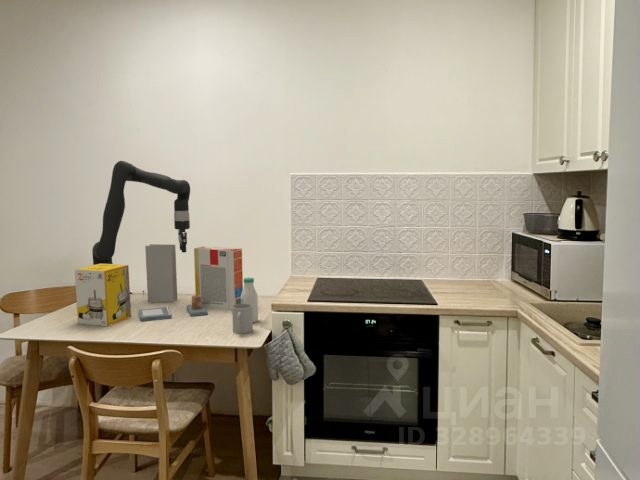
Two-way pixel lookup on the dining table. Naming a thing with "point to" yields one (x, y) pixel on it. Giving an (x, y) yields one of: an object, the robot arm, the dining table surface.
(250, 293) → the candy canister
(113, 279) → the packaging box
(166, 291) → the plain grey carton
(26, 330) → the dining table surface
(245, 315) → the mug
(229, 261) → the pasta box
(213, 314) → the dining table surface
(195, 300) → the blue-grey two-tone fixture
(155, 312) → the blue-grey display panel
